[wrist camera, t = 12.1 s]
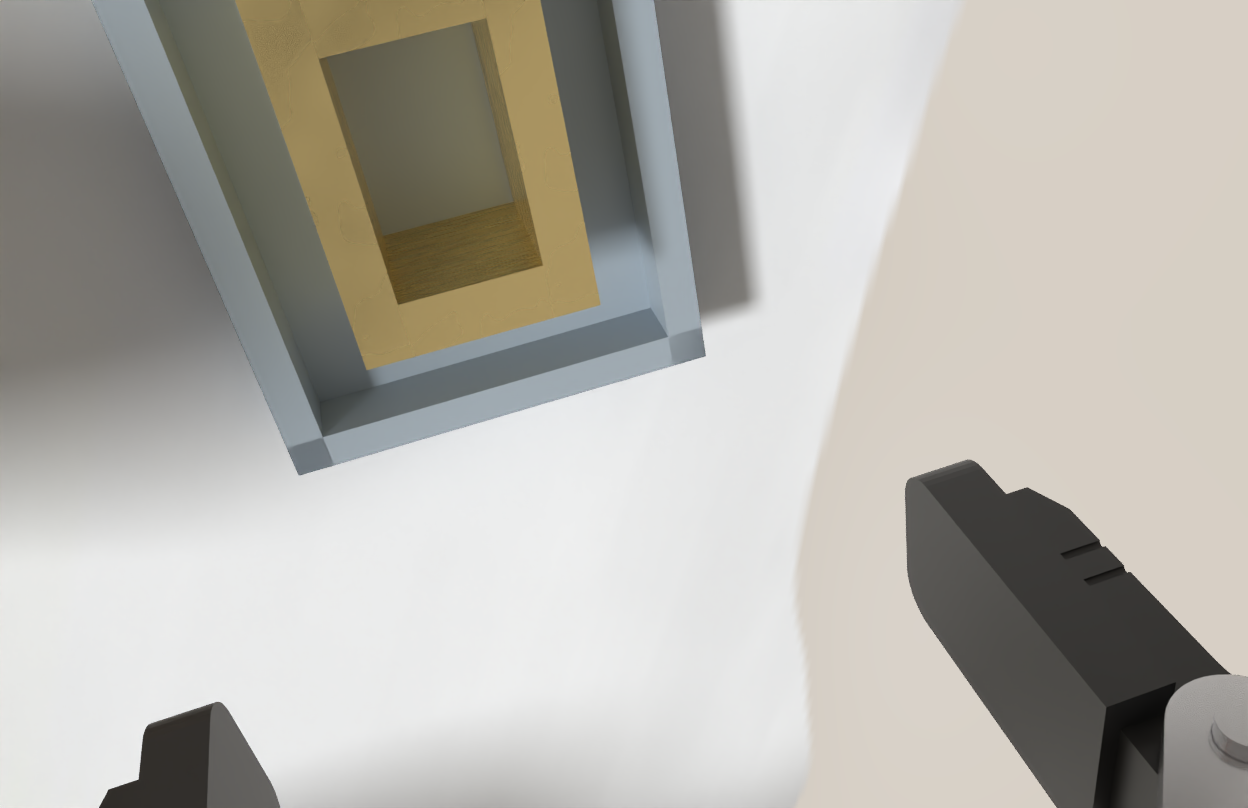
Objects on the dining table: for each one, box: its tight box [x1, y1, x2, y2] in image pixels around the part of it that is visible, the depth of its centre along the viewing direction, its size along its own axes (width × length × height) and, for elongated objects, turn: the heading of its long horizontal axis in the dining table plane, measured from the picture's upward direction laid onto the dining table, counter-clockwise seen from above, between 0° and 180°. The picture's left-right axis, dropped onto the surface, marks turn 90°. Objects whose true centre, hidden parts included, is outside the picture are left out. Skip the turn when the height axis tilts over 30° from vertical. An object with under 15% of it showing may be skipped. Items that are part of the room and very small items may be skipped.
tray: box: [91, 0, 706, 475], centre depth 28 cm, size 17×12×2 cm
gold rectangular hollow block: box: [235, 0, 601, 370], centre depth 26 cm, size 10×6×4 cm, turn 9°
